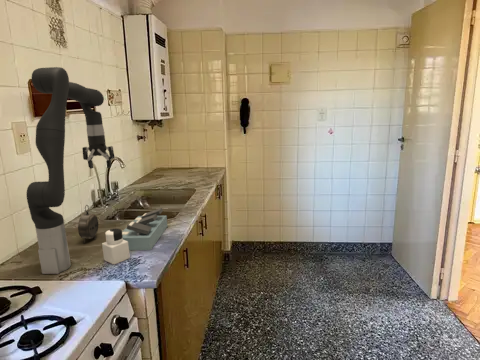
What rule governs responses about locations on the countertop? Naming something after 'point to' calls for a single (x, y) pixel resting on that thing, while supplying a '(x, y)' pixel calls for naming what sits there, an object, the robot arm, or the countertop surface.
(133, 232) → the switch box
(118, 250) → the medicine bottle
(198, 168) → the countertop surface
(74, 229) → the countertop surface
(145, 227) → the switch
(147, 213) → the switch
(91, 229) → the alarm clock
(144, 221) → the switch
